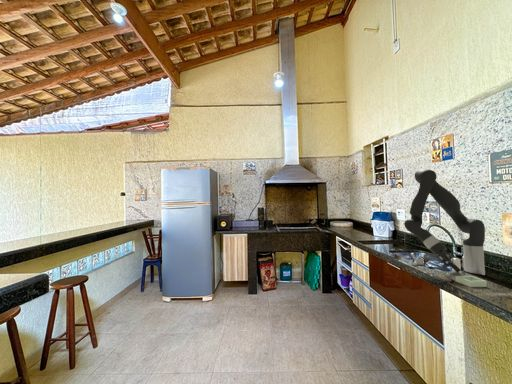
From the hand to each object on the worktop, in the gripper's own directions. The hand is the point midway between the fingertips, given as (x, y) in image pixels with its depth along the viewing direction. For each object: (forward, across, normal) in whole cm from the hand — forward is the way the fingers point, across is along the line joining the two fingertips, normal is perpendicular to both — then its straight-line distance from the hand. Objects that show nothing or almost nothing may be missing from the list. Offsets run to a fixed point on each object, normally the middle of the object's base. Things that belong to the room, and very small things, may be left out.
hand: (460, 270), depth 129 cm
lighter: (-17, +18, +26) cm, 36 cm away
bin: (+8, -4, 0) cm, 9 cm away
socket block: (+3, 0, +6) cm, 6 cm away
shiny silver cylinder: (+2, 0, +5) cm, 5 cm away
